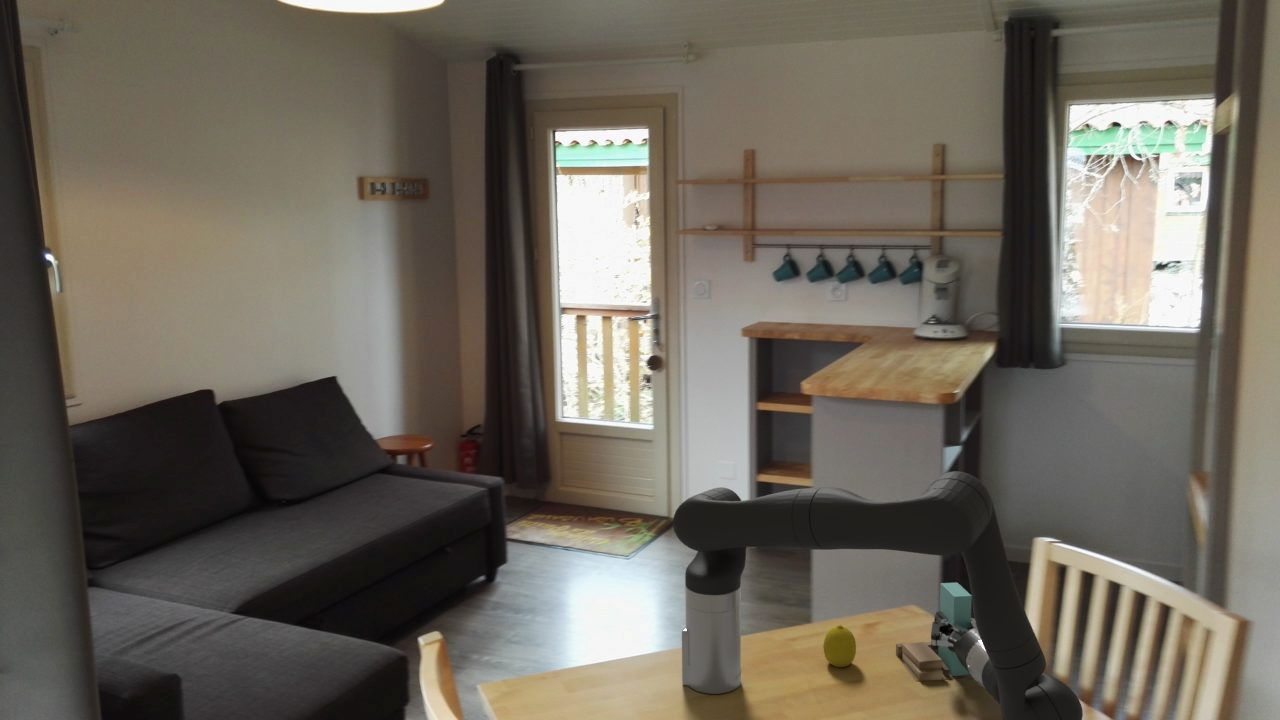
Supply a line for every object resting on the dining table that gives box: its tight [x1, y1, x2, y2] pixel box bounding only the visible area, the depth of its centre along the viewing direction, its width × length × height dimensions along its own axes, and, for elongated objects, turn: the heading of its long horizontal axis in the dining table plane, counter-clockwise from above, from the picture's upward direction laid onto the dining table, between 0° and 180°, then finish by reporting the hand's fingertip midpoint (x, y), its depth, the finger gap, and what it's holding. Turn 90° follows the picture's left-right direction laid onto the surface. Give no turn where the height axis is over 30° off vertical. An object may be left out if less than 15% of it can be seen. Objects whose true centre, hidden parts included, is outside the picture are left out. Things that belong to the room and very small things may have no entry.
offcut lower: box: [902, 654, 943, 682], centre depth 171 cm, size 4×8×2 cm, turn 5°
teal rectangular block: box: [938, 582, 972, 676], centre depth 171 cm, size 3×6×14 cm, turn 5°
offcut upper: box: [901, 641, 942, 670], centre depth 171 cm, size 4×7×2 cm, turn 9°
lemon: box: [823, 624, 857, 668], centre depth 174 cm, size 6×6×8 cm
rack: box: [895, 641, 974, 682], centre depth 173 cm, size 16×10×4 cm, turn 95°
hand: (947, 616), depth 173 cm, fingers closed on teal rectangular block, 3 cm apart
